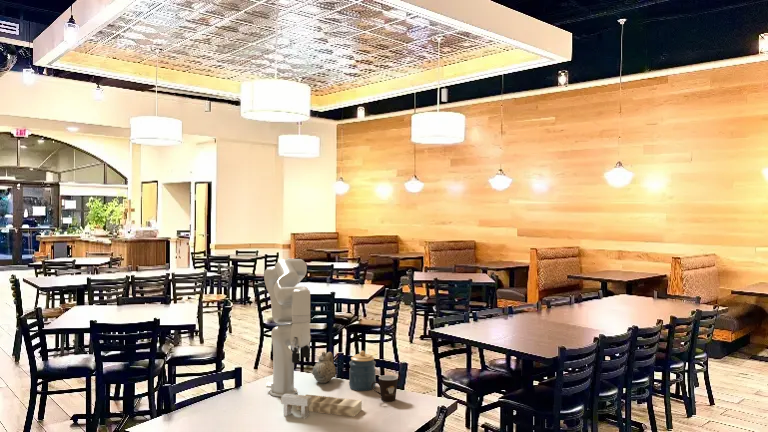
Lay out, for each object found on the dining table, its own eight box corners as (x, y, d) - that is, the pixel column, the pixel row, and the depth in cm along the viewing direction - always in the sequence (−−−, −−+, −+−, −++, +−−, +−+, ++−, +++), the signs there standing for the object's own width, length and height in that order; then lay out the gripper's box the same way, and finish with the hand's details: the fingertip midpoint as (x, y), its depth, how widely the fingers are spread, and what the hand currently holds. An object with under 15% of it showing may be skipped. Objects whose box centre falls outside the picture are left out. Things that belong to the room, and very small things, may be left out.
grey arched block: (281, 415, 241) (281, 396, 241) (285, 412, 245) (285, 393, 245) (307, 418, 237) (307, 399, 237) (311, 415, 241) (311, 396, 241)
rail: (297, 409, 248) (297, 400, 248) (306, 403, 257) (306, 394, 257) (353, 416, 240) (353, 406, 240) (361, 409, 248) (361, 400, 248)
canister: (360, 392, 272) (360, 355, 273) (343, 387, 282) (343, 350, 282) (381, 387, 281) (381, 351, 281) (364, 381, 291) (364, 346, 291)
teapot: (329, 388, 280) (329, 356, 280) (306, 386, 282) (306, 355, 282) (341, 376, 301) (341, 347, 301) (319, 375, 303) (320, 346, 303)
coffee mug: (398, 397, 266) (398, 375, 266) (397, 403, 257) (397, 380, 258) (373, 396, 267) (373, 374, 267) (371, 402, 259) (371, 379, 259)
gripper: (301, 315, 251) (301, 354, 251) (283, 321, 235) (283, 364, 235) (317, 316, 249) (317, 356, 249) (300, 322, 233) (300, 365, 232)
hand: (301, 360), depth 242 cm, fingers open, 9 cm apart
